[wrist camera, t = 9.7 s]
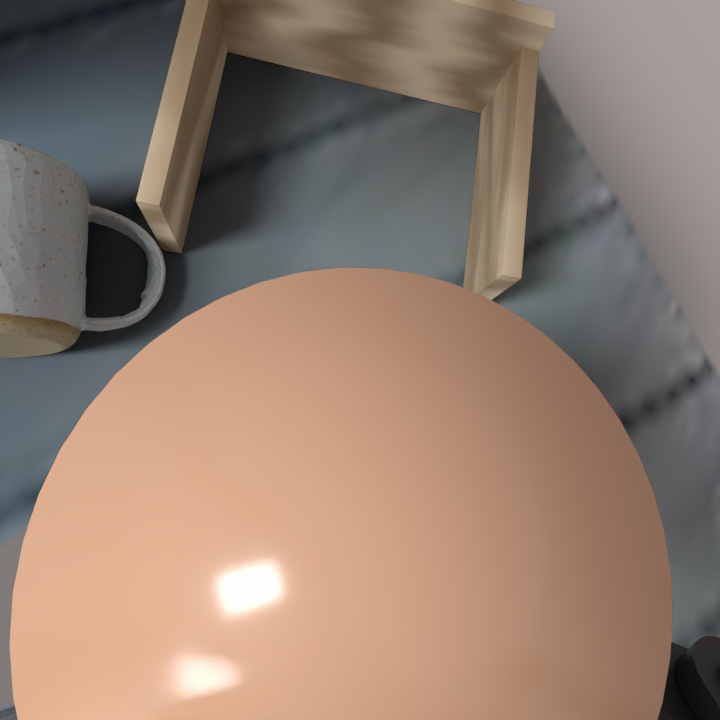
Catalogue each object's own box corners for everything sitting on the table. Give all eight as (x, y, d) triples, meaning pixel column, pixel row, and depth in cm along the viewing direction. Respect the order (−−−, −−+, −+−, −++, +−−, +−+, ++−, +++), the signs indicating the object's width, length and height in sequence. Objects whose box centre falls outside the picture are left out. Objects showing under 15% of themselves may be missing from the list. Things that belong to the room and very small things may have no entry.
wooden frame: (162, 250, 28) (126, 183, 21) (213, 33, 30) (195, -88, 24) (477, 309, 30) (536, 267, 23) (497, 103, 33) (555, 12, 26)
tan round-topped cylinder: (166, 614, 14) (-95, 986, 4) (215, 369, 15) (110, 213, 5) (408, 638, 15) (669, 991, 5) (434, 405, 16) (675, 324, 6)
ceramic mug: (-54, 371, 25) (-191, 334, 17) (-52, 214, 26) (-179, 118, 19) (174, 353, 27) (139, 314, 19) (165, 208, 28) (129, 120, 21)
